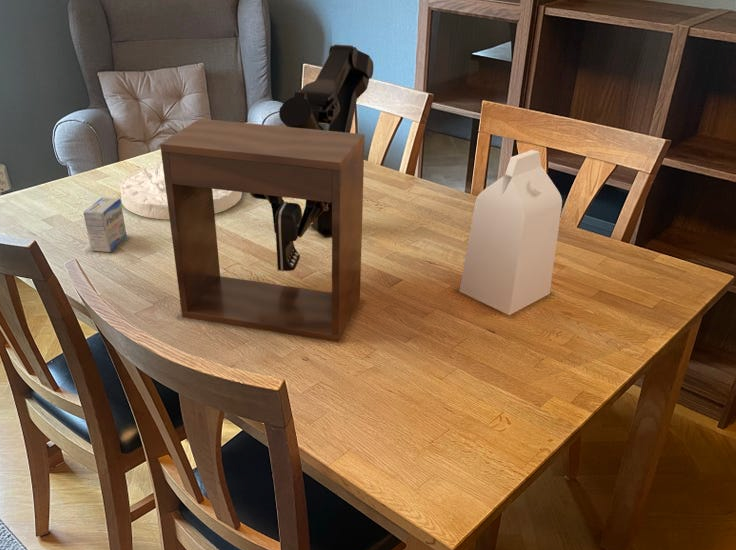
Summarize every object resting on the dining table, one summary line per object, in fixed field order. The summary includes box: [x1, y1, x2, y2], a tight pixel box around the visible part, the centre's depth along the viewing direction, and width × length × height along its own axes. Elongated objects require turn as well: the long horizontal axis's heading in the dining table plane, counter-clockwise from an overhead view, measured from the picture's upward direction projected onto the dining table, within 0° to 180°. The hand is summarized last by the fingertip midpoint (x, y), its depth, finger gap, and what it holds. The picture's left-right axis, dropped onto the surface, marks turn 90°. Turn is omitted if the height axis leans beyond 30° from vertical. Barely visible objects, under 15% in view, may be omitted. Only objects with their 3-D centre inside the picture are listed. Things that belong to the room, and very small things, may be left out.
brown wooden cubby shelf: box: [159, 118, 365, 343], centre depth 122 cm, size 14×28×30 cm, turn 74°
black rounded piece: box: [275, 201, 303, 272], centre depth 134 cm, size 7×4×11 cm, turn 171°
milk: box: [458, 149, 563, 316], centre depth 129 cm, size 12×12×26 cm
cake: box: [119, 161, 243, 221], centre depth 172 cm, size 28×28×10 cm
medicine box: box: [83, 197, 128, 253], centre depth 150 cm, size 8×4×9 cm, turn 168°
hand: (287, 235), depth 132 cm, fingers closed on black rounded piece, 4 cm apart
